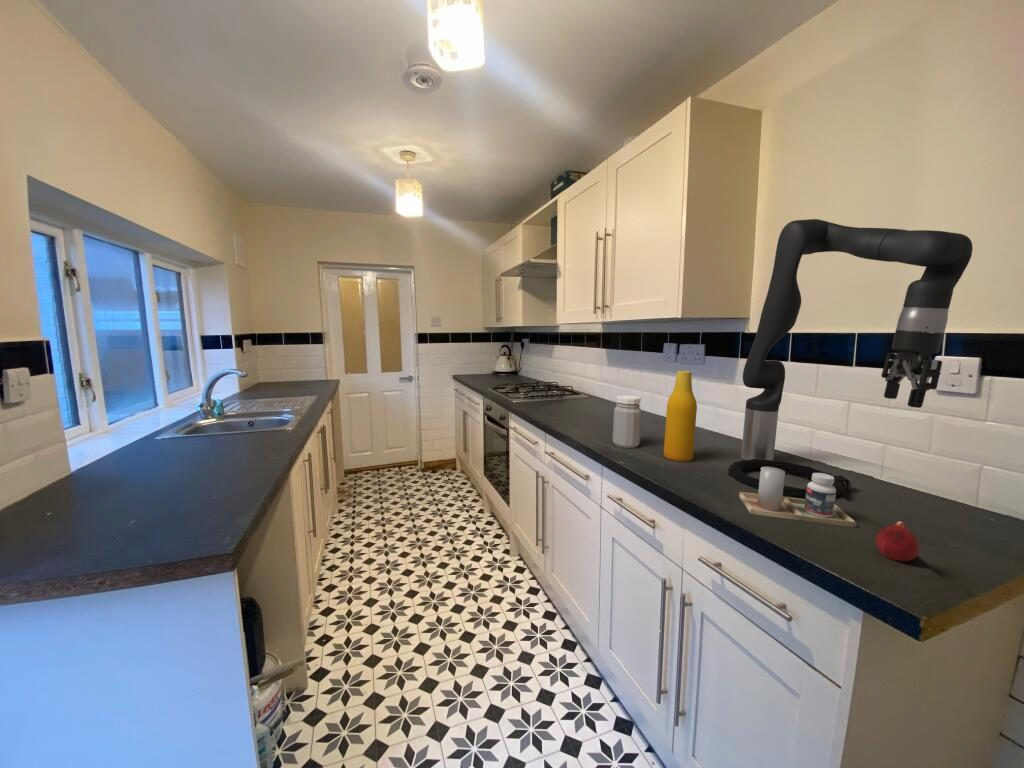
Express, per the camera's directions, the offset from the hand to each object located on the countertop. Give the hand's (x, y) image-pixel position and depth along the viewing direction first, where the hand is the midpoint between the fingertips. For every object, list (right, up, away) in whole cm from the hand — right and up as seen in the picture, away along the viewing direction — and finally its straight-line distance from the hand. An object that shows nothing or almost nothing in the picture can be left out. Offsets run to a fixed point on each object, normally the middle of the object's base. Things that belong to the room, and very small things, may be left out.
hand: (901, 402), depth 91 cm
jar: (-45, -19, +60) cm, 77 cm away
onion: (-16, -29, -15) cm, 37 cm away
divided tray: (-22, -26, +4) cm, 34 cm away
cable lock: (-10, -25, +23) cm, 35 cm away
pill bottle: (-17, -26, +2) cm, 31 cm away
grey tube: (-27, -25, +5) cm, 37 cm away
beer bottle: (-31, -21, +46) cm, 59 cm away
